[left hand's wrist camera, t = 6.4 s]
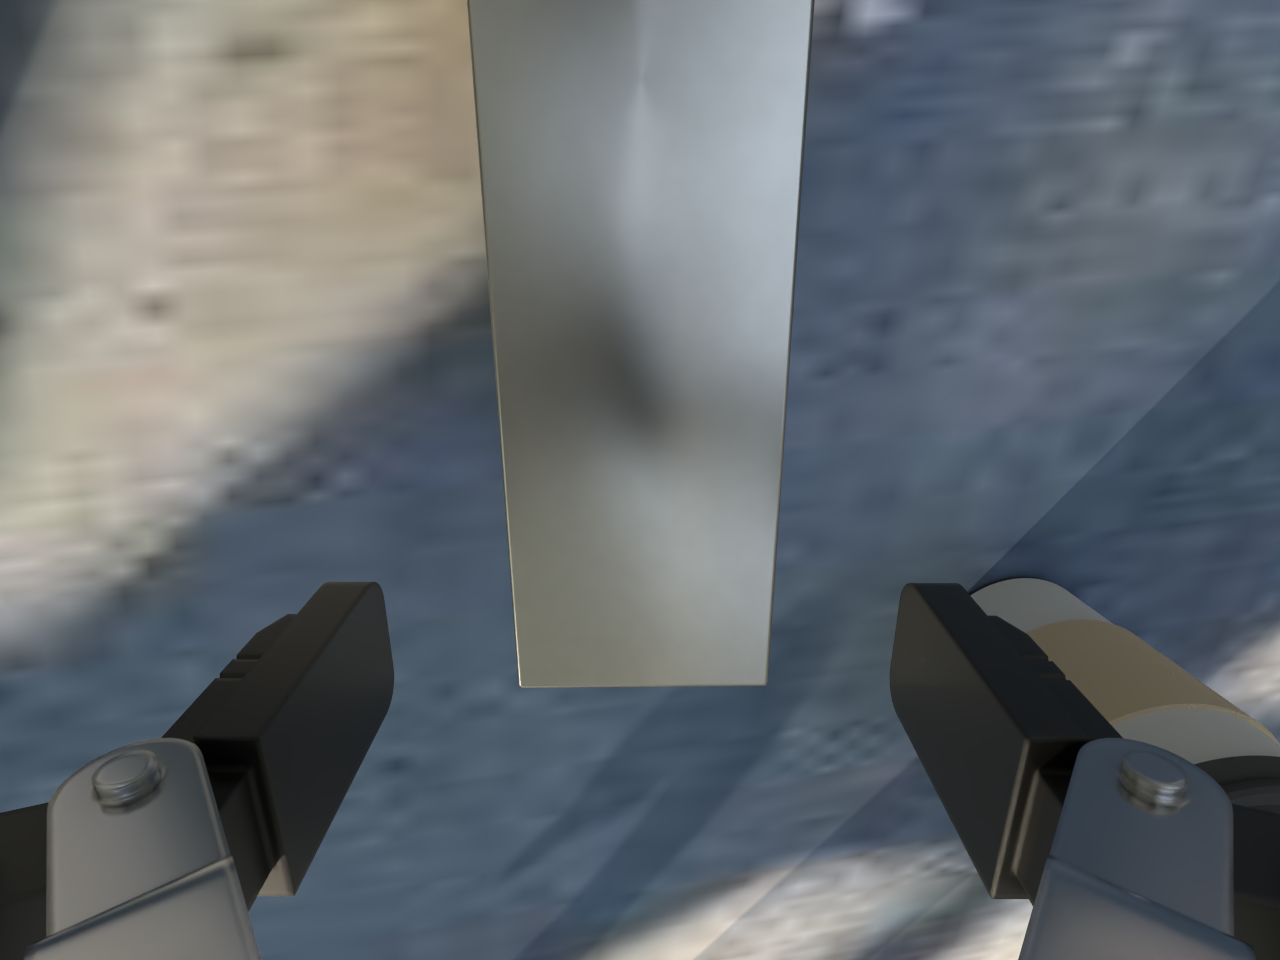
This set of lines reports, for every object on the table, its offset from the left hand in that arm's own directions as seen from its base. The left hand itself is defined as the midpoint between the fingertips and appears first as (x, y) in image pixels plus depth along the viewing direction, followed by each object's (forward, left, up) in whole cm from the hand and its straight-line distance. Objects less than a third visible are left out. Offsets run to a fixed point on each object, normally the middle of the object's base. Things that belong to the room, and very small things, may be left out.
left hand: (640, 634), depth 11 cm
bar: (-7, +4, -11) cm, 14 cm away
